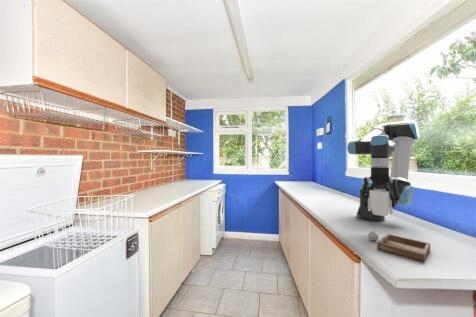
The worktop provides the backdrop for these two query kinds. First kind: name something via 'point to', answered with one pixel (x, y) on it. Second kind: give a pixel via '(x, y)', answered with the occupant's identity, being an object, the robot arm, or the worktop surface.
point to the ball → (373, 236)
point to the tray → (404, 247)
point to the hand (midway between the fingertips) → (380, 212)
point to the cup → (379, 201)
